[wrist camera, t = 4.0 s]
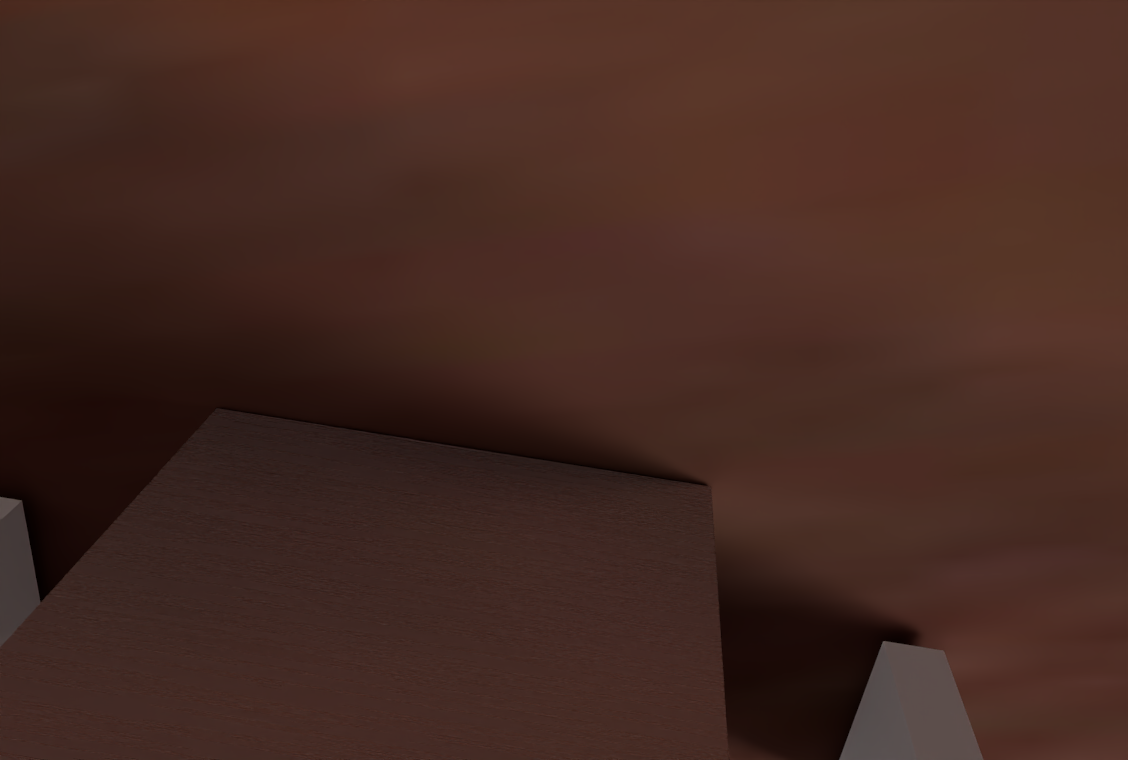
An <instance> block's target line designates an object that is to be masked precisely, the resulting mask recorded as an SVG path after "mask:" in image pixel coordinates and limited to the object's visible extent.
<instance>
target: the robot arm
mask: <svg viewBox="0 0 1128 760" xmlns="http://www.w3.org/2000/svg"><path fill="white" fill-rule="evenodd" d="M40 603H41V602H40V597H39V591H38V586H37V580H36V575H35V569H34V564H33V558H32V553H31V547H30V542H29V536H28V531H27V525H26V520H25V514H24V509H23V503H22V500H16V499H9V498H3V497H0V647H1V646H2V645H3V644H4V643H5V642H6V640H7V639H8V638H9V637H10V636H11V635H12V634H13V633H14V632H15V631H16V629H17V628H18V627H19V626H20V625H21V624H22V623H23V622H24V621H25V619H26V618H27V617H28V616H29V615H30V614H31V613H32V612H33V611H34V610H35V608H36V607H37V606H38V605H39V604H40ZM839 760H983V757H982V754H981V752H980V749H979V746H978V743H977V741H976V738H975V735H974V732H973V730H972V727H971V724H970V721H969V719H968V716H967V713H966V710H965V708H964V705H963V702H962V699H961V697H960V694H959V691H958V688H957V686H956V683H955V680H954V677H953V675H952V672H951V669H950V666H949V664H948V661H947V658H946V655H945V653H944V651H942V650H936V649H930V648H924V647H918V646H912V645H906V644H899V643H893V642H887V641H883V643H882V645H881V648H880V651H879V653H878V656H877V659H876V661H875V664H874V667H873V670H872V672H871V675H870V678H869V680H868V683H867V686H866V689H865V691H864V694H863V697H862V699H861V702H860V705H859V707H858V710H857V713H856V716H855V718H854V721H853V724H852V726H851V729H850V732H849V735H848V737H847V740H846V743H845V745H844V748H843V751H842V754H841V756H840V759H839Z"/></svg>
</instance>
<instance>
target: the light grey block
mask: <svg viewBox="0 0 1128 760" xmlns="http://www.w3.org/2000/svg"><path fill="white" fill-rule="evenodd" d="M0 760H729V753H728V738H727V722H726V707H725V692H724V676H723V661H722V646H721V631H720V615H719V600H718V585H717V569H716V554H715V539H714V524H713V508H712V493H711V487H710V486H703V485H697V484H691V483H685V482H678V481H672V480H666V479H659V478H653V477H647V476H641V475H634V474H628V473H622V472H615V471H609V470H603V469H596V468H590V467H584V466H578V465H571V464H565V463H559V462H552V461H546V460H540V459H534V458H527V457H521V456H515V455H508V454H502V453H496V452H490V451H483V450H477V449H471V448H464V447H458V446H452V445H445V444H439V443H433V442H427V441H420V440H414V439H408V438H401V437H395V436H389V435H383V434H376V433H370V432H364V431H357V430H351V429H345V428H339V427H332V426H326V425H320V424H313V423H307V422H301V421H294V420H288V419H282V418H276V417H269V416H263V415H257V414H250V413H244V412H238V411H232V410H225V409H219V408H216V409H215V411H214V412H213V413H212V414H211V415H210V416H209V417H208V418H207V419H206V421H205V422H204V423H203V424H202V425H201V426H200V427H199V428H198V429H197V430H196V432H195V433H194V434H193V435H192V436H191V437H190V438H189V439H188V440H187V442H186V443H185V444H184V445H183V446H182V447H181V448H180V449H179V450H178V451H177V453H176V454H175V455H174V456H173V457H172V458H171V459H170V460H169V461H168V463H167V464H166V465H165V466H164V467H163V468H162V469H161V470H160V471H159V472H158V474H157V475H156V476H155V477H154V478H153V479H152V480H151V481H150V482H149V484H148V485H147V486H146V487H145V488H144V489H143V490H142V491H141V492H140V493H139V495H138V496H137V497H136V498H135V499H134V500H133V501H132V502H131V503H130V505H129V506H128V507H127V508H126V509H125V510H124V511H123V512H122V513H121V514H120V516H119V517H118V518H117V519H116V520H115V521H114V522H113V523H112V524H111V526H110V527H109V528H108V529H107V530H106V531H105V532H104V533H103V534H102V535H101V537H100V538H99V539H98V540H97V541H96V542H95V543H94V544H93V545H92V547H91V548H90V549H89V550H88V551H87V552H86V553H85V554H84V555H83V556H82V558H81V559H80V560H79V561H78V562H77V563H76V564H75V565H74V566H73V568H72V569H71V570H70V571H69V572H68V573H67V574H66V575H65V576H64V577H63V579H62V580H61V581H60V582H59V583H58V584H57V585H56V586H55V587H54V589H53V590H52V591H51V592H50V593H49V594H48V595H47V596H46V597H45V598H44V600H43V601H42V602H41V603H40V604H39V605H38V606H37V607H36V608H35V610H34V611H33V612H32V613H31V614H30V615H29V616H28V617H27V618H26V619H25V621H24V622H23V623H22V624H21V625H20V626H19V627H18V628H17V629H16V631H15V632H14V633H13V634H12V635H11V636H10V637H9V638H8V639H7V640H6V642H5V643H4V644H3V645H2V646H1V647H0Z"/></svg>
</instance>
